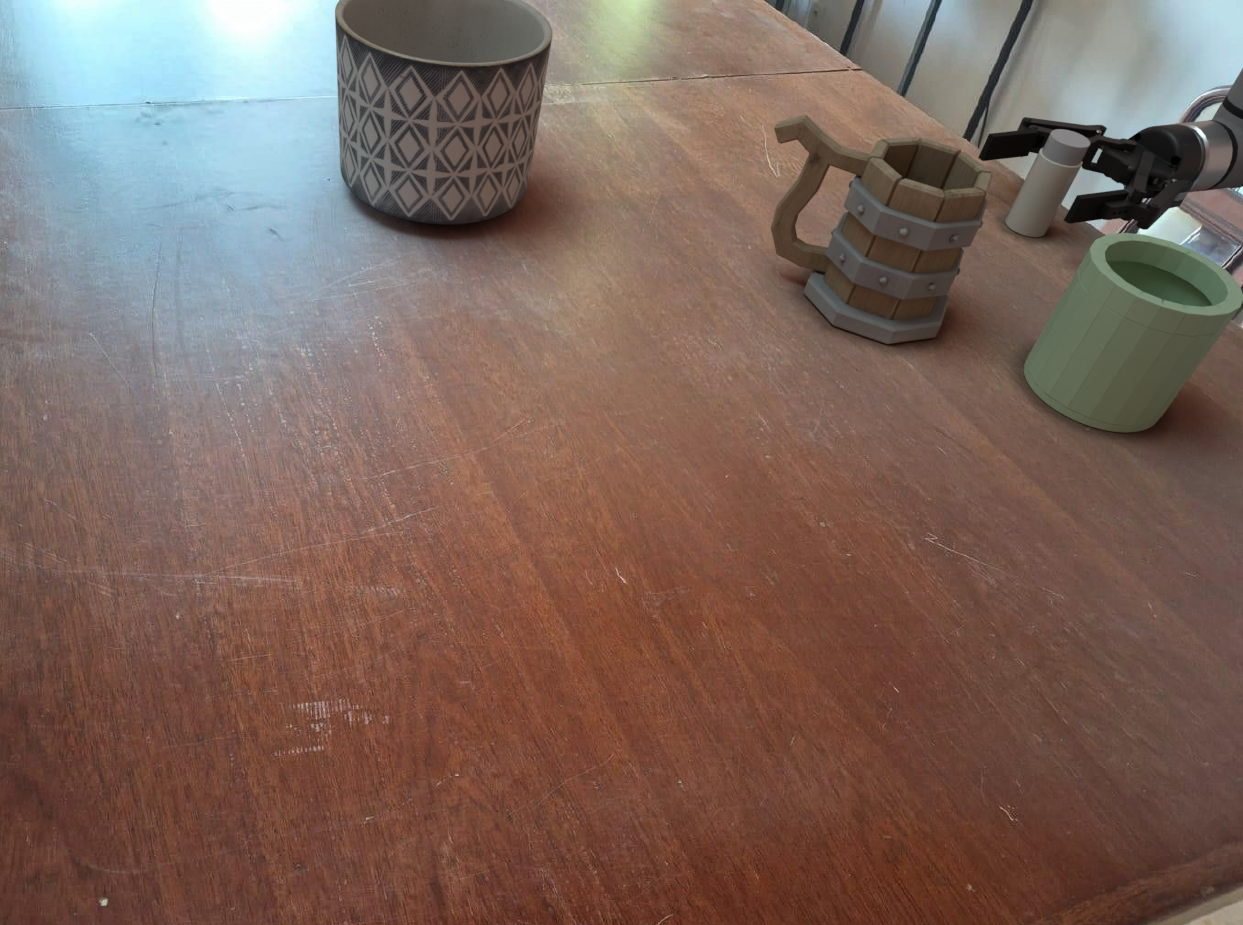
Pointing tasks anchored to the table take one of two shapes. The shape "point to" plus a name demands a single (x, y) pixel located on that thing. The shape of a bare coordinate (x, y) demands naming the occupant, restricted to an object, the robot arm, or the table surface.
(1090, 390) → the jar
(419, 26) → the planter
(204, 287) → the table surface
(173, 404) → the table surface
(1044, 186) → the salt shaker
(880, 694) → the table surface
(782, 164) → the table surface
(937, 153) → the tankard
